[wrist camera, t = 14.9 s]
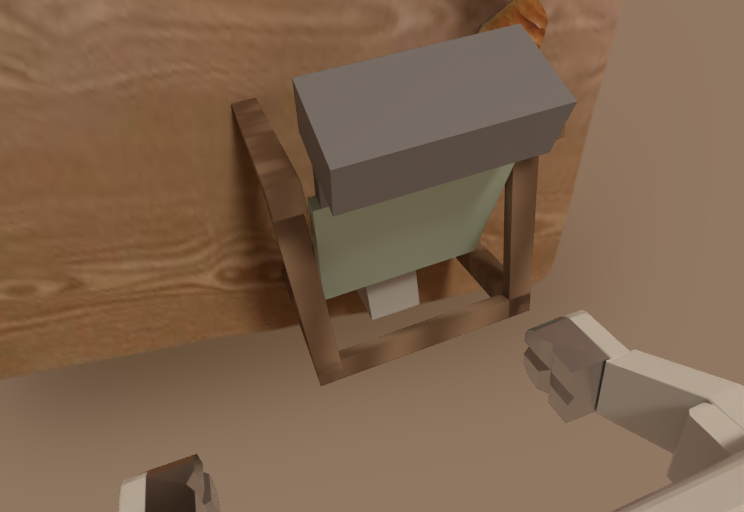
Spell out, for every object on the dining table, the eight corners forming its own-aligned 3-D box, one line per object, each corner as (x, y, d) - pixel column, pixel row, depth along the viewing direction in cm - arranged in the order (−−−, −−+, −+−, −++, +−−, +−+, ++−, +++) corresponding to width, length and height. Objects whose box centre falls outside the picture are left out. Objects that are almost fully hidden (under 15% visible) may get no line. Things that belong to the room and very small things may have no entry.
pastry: (503, -25, 42) (530, -21, 39) (552, 19, 46) (579, 26, 43) (440, 77, 45) (461, 88, 42) (491, 111, 49) (513, 124, 46)
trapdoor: (310, 265, 44) (333, 327, 42) (282, 80, 25) (319, 173, 23) (457, 219, 47) (486, 274, 44) (528, 21, 28) (585, 99, 26)
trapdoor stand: (286, 285, 51) (329, 409, 38) (230, 103, 40) (264, 190, 27) (454, 231, 55) (546, 328, 42) (446, 51, 44) (566, 106, 31)
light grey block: (372, 320, 50) (353, 285, 54) (419, 304, 51) (397, 271, 55) (365, 280, 47) (346, 247, 51) (415, 264, 48) (392, 233, 52)
